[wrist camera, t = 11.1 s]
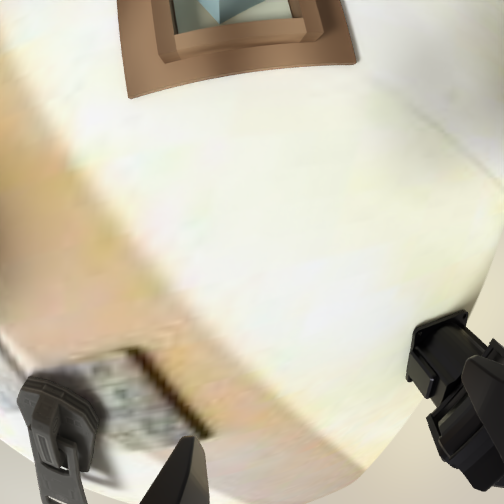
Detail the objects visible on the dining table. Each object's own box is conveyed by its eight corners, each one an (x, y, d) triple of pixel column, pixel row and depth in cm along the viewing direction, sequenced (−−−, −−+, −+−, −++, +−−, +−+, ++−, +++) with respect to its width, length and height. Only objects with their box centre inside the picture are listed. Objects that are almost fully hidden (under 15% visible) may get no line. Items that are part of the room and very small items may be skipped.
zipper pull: (39, 504, 23) (-10, 409, 15) (49, 472, 29) (20, 365, 22) (96, 526, 24) (79, 452, 17) (103, 492, 30) (99, 399, 23)
